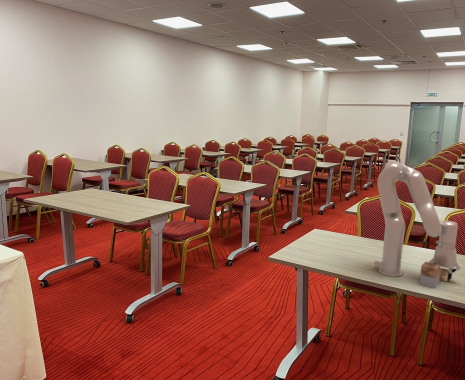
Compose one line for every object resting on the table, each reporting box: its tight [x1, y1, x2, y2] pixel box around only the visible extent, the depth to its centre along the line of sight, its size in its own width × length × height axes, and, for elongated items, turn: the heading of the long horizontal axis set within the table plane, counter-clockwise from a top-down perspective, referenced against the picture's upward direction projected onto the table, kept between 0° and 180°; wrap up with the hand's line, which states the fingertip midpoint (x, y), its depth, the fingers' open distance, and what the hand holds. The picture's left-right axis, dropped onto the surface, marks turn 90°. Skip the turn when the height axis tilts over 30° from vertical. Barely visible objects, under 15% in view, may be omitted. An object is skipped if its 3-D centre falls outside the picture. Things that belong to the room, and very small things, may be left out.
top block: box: [419, 261, 441, 279], centre depth 197 cm, size 7×7×5 cm
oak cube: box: [439, 266, 449, 282], centre depth 204 cm, size 5×5×5 cm
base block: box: [419, 275, 440, 289], centre depth 198 cm, size 7×7×5 cm
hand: (442, 278), depth 204 cm, fingers closed on oak cube, 5 cm apart
